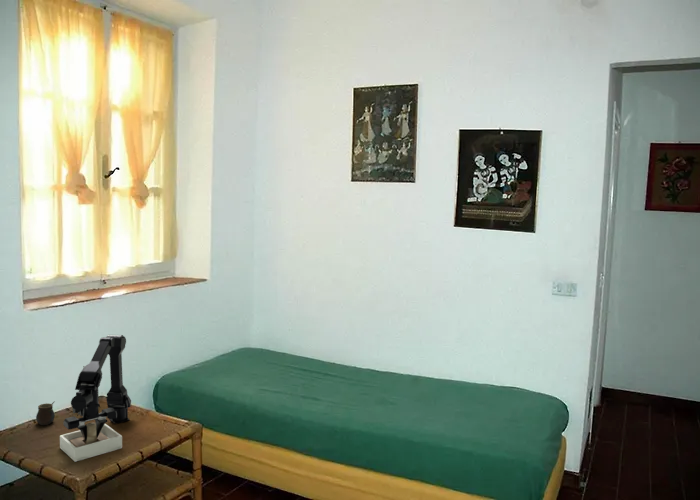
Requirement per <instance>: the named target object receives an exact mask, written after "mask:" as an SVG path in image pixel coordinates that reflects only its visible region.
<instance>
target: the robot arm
mask: <svg viewBox="0 0 700 500" xmlns="http://www.w3.org/2000/svg"><path fill="white" fill-rule="evenodd" d="M126 345H127V339H126V336H124V335H123V334H107V336H104V337H101V338H100V339H99V341H98V346H97V348H96V350H95V352H94V354H93V355H92V358H91V360H90V362H89V363H87V364H86V365H84V366H85V367H84V368H82V369H81V371H80V373H79V375H78V377H77V381H76V385H75V388H74V390H76V392H75V393H76V394H75V396H73V397H72V399H71V401H70V406H71V407H72V413H73V414H77V415H78V416H79V415H80V417H79V418H77V417H76V416H70V417H65V418H64V420H63V426H64V427H65V428H66V429H67V430H73V429H78V430H80V431H81V433H82V435H83V438H84V440H85V441H86V440H87V426H86V422H87V423H88V422H91V421H94V423H96V435H97V438H98V436H99V433H100V431H101V429H102V427H103V426H104V424H106V423H108V420H109V421H111V422H112V423H113V424H120V423H123V422H128V421H130V418H129V412H128V411H129V408H131V404H132V400H131V398H130V396H129V395H128V389H127V388H126V387H125V385H124V384H123V383H124V382H123V362H122V361H123V358H122V353H123V352H124V351H125V348H126ZM108 356H109V368H110V369H109V370H110V371H109V372H110V389H109V390H108V391H107V393H106V405H107V408H103V409H101V412H100V411H99V409H100V405H101V404H100V403H99V388H100V385H101V381H102V379H103V371H102V368H103V366H104V364H105V362H106V360H107V358H108ZM81 383H82V384H89V385H81ZM107 419H108V420H107Z"/></svg>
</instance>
